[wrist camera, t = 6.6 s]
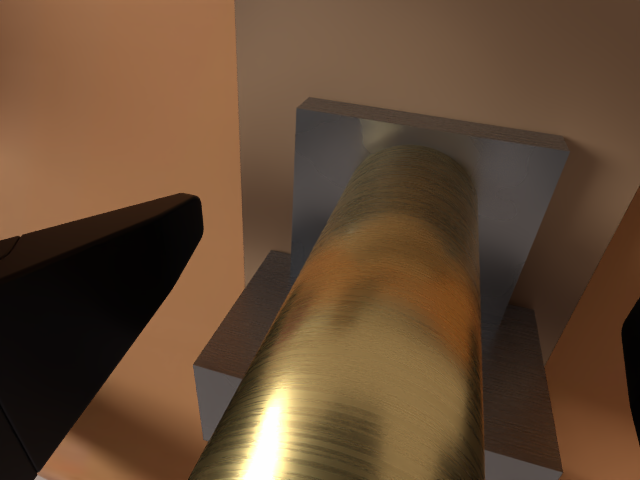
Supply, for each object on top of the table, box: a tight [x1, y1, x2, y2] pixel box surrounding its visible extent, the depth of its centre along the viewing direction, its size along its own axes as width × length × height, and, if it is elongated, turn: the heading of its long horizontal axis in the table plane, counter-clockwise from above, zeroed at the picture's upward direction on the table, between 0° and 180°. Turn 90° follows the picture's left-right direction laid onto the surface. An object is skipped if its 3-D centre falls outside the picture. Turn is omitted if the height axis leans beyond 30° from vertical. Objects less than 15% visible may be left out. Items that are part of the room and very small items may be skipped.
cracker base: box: [235, 0, 640, 366], centre depth 12 cm, size 23×10×6 cm, turn 175°
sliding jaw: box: [188, 97, 570, 480], centre depth 9 cm, size 8×8×9 cm
